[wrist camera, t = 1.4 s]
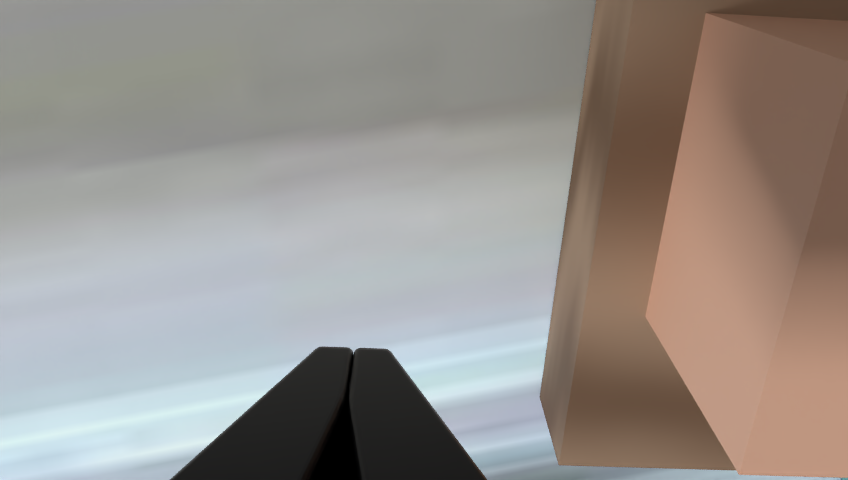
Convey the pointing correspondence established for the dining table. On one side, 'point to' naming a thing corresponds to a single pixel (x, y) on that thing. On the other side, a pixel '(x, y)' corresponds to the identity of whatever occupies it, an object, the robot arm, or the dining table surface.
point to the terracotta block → (762, 244)
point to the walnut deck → (631, 241)
